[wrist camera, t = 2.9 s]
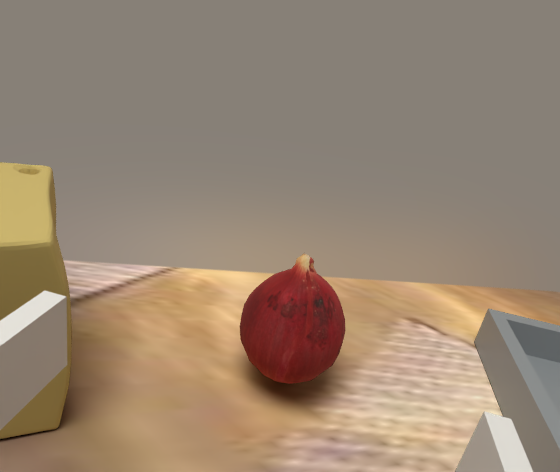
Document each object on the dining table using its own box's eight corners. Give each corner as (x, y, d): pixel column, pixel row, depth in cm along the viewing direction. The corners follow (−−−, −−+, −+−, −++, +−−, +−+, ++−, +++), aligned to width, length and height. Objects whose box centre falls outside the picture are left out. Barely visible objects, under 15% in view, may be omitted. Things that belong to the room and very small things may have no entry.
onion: (347, 406, 24) (384, 284, 21) (251, 425, 22) (277, 290, 19) (303, 342, 29) (329, 234, 26) (221, 351, 27) (238, 234, 24)
